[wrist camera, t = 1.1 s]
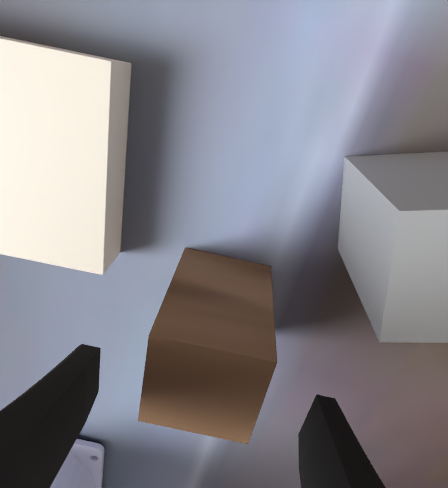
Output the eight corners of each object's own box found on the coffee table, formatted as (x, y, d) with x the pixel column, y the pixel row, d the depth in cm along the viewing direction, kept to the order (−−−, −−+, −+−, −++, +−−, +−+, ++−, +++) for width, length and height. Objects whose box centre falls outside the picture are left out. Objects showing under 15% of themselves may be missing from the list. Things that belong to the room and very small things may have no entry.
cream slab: (123, 248, 17) (102, 274, 15) (-42, 214, 17) (-88, 236, 15) (135, 63, 13) (111, 61, 11) (-73, 20, 13) (-139, 9, 11)
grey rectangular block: (434, 246, 15) (530, 343, 10) (337, 248, 16) (379, 342, 10) (454, 150, 13) (585, 204, 8) (344, 156, 14) (399, 211, 8)
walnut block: (251, 332, 18) (248, 443, 13) (174, 316, 18) (138, 420, 13) (270, 265, 16) (276, 362, 11) (185, 247, 16) (148, 335, 11)
